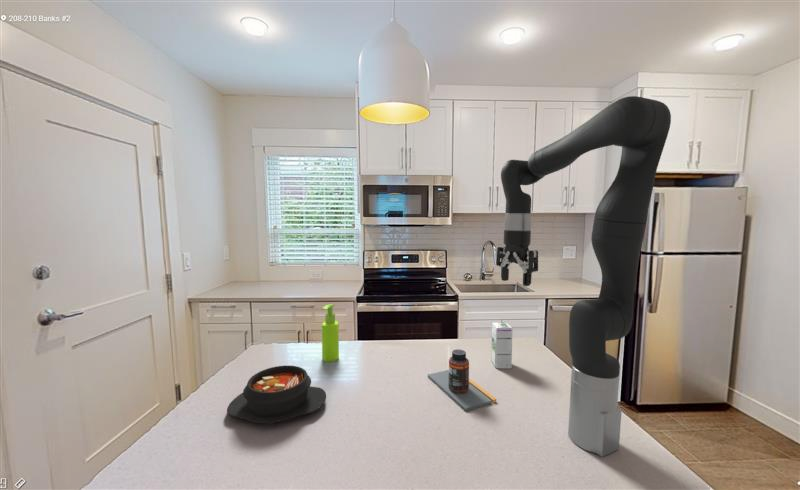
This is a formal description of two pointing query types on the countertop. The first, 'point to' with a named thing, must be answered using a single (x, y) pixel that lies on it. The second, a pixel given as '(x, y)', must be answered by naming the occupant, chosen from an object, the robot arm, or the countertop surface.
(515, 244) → the robot arm
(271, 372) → the casserole
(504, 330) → the syrup box
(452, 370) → the supplement bottle
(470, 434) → the countertop surface
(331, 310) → the soap dispenser
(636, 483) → the countertop surface
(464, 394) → the grey board
